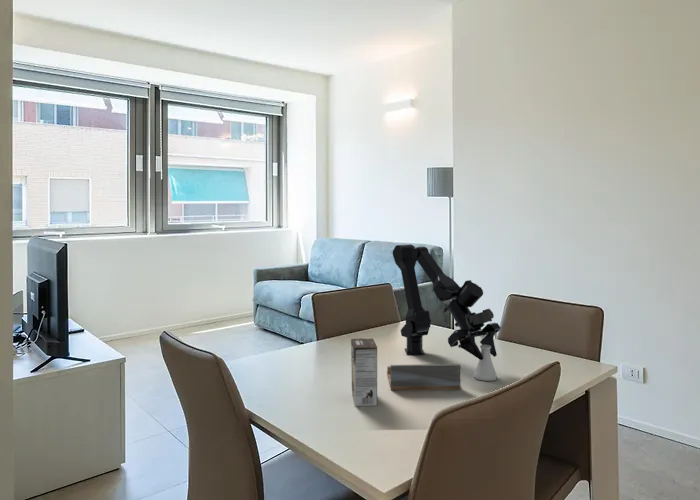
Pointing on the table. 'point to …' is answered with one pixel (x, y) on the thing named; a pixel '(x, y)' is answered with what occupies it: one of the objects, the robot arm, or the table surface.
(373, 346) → the coffee box
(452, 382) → the chalkboard eraser
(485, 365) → the flask
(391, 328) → the table surface
